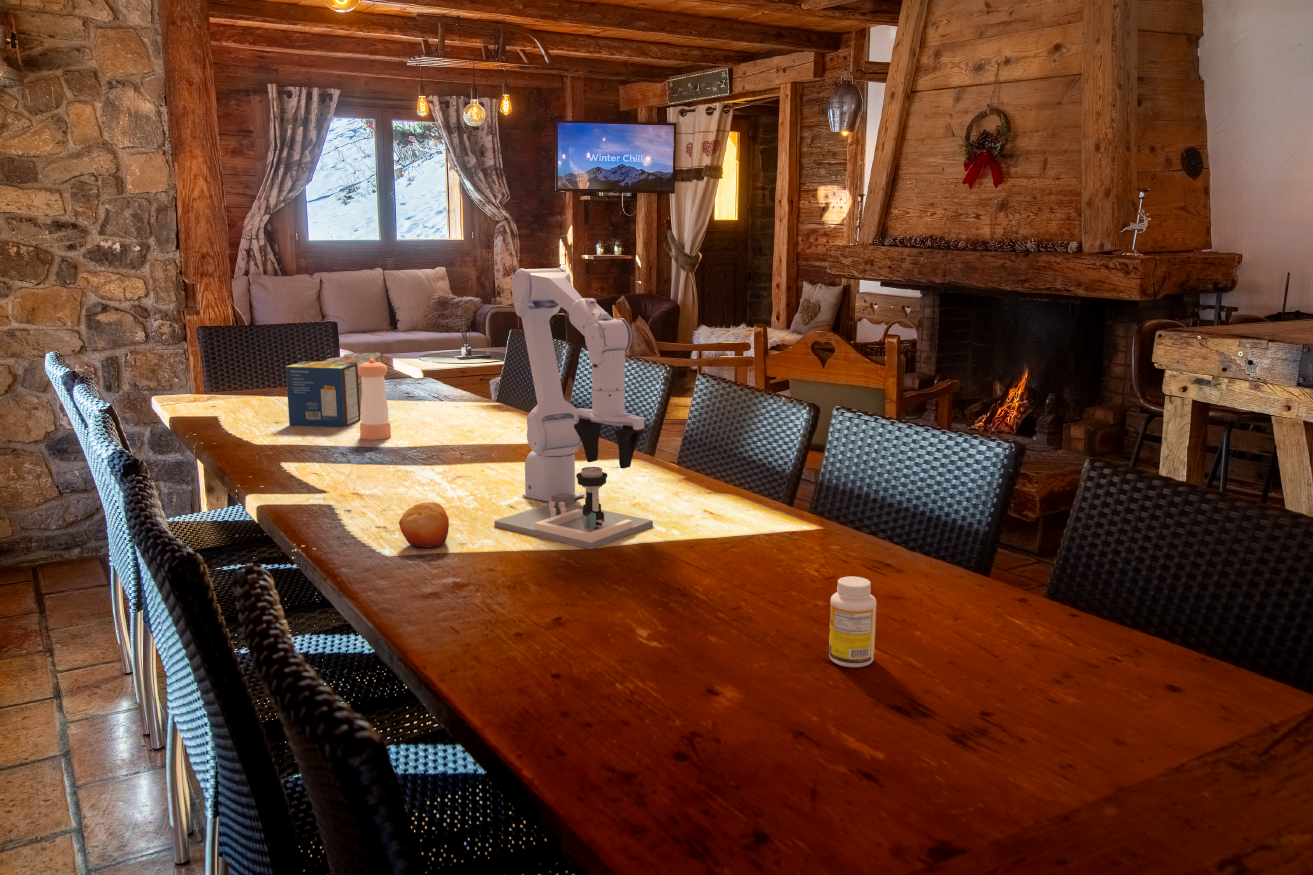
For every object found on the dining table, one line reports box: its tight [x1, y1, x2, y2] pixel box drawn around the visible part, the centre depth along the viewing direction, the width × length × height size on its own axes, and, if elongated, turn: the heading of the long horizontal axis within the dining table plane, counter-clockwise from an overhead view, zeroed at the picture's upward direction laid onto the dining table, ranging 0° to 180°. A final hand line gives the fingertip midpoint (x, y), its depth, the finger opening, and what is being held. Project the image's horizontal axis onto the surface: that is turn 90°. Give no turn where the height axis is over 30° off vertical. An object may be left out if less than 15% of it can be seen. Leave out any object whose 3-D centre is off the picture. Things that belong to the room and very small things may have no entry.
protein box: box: [285, 360, 361, 428], centre depth 283 cm, size 10×15×16 cm
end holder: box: [535, 509, 632, 543], centre depth 186 cm, size 12×11×1 cm
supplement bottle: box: [828, 575, 877, 668], centre depth 133 cm, size 6×6×10 cm
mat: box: [493, 503, 654, 550], centre depth 191 cm, size 22×17×1 cm
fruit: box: [398, 501, 450, 549], centre depth 180 cm, size 8×8×8 cm
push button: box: [575, 466, 608, 529], centre depth 186 cm, size 7×5×10 cm
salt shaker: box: [358, 359, 392, 441], centre depth 265 cm, size 7×7×19 cm
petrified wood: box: [321, 352, 383, 409], centre depth 308 cm, size 19×17×15 cm
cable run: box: [548, 493, 576, 517], centre depth 198 cm, size 4×11×2 cm, turn 175°
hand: (608, 464), depth 193 cm, fingers open, 7 cm apart
